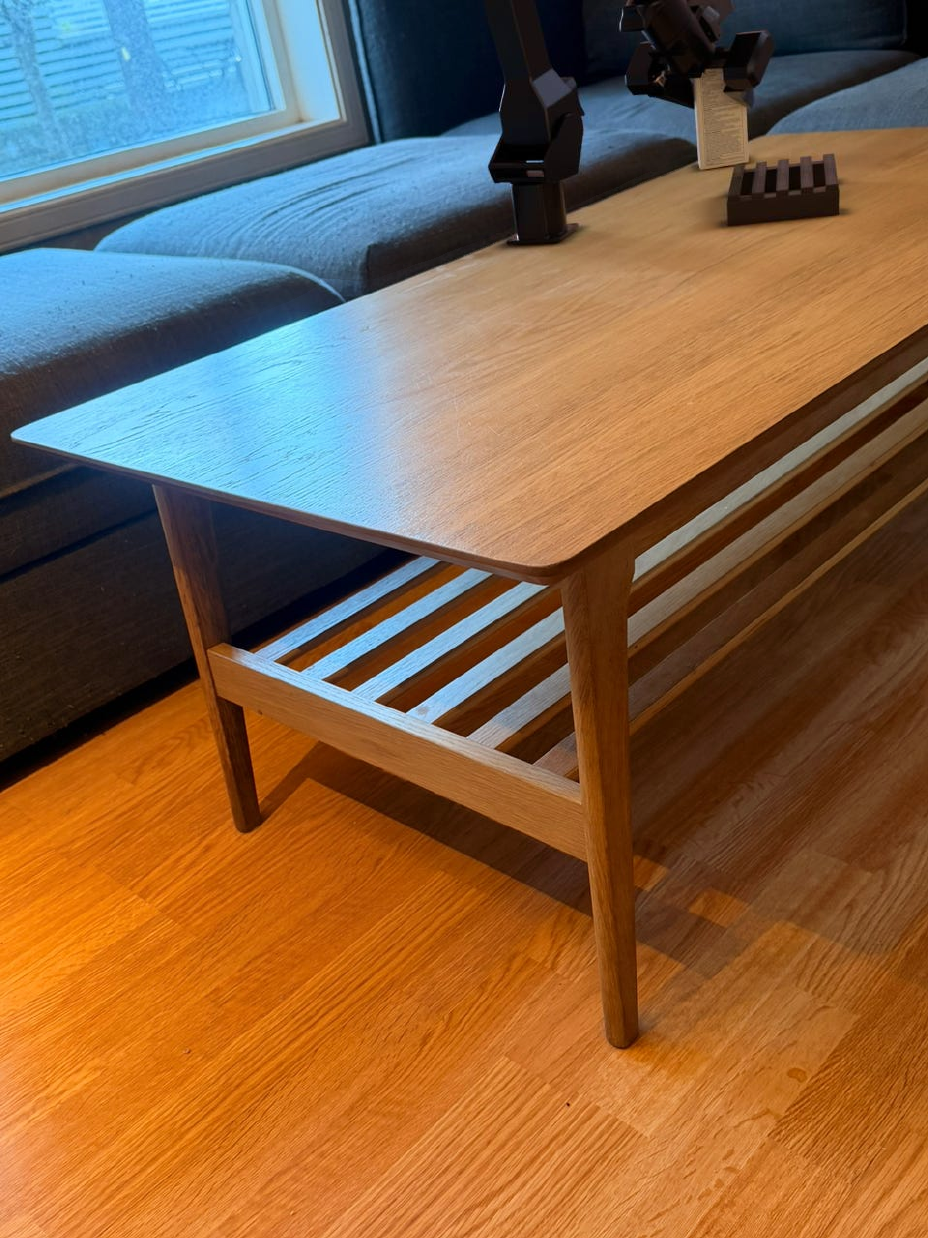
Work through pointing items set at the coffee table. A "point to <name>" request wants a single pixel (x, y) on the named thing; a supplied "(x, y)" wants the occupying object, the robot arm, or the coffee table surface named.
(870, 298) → the coffee table surface
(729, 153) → the cosmetic box
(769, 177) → the rack
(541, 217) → the robot arm
